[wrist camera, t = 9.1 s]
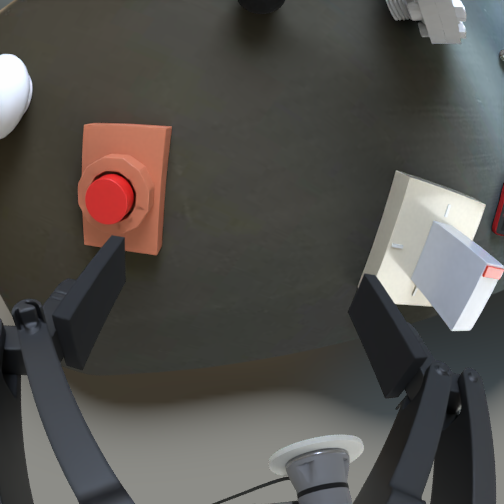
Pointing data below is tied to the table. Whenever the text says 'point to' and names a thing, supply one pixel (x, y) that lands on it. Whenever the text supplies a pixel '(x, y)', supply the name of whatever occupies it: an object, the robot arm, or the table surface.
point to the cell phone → (499, 216)
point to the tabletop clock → (501, 55)
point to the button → (109, 199)
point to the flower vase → (13, 92)
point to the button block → (136, 173)
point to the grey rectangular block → (455, 276)
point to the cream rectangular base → (415, 231)
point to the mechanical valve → (405, 16)
